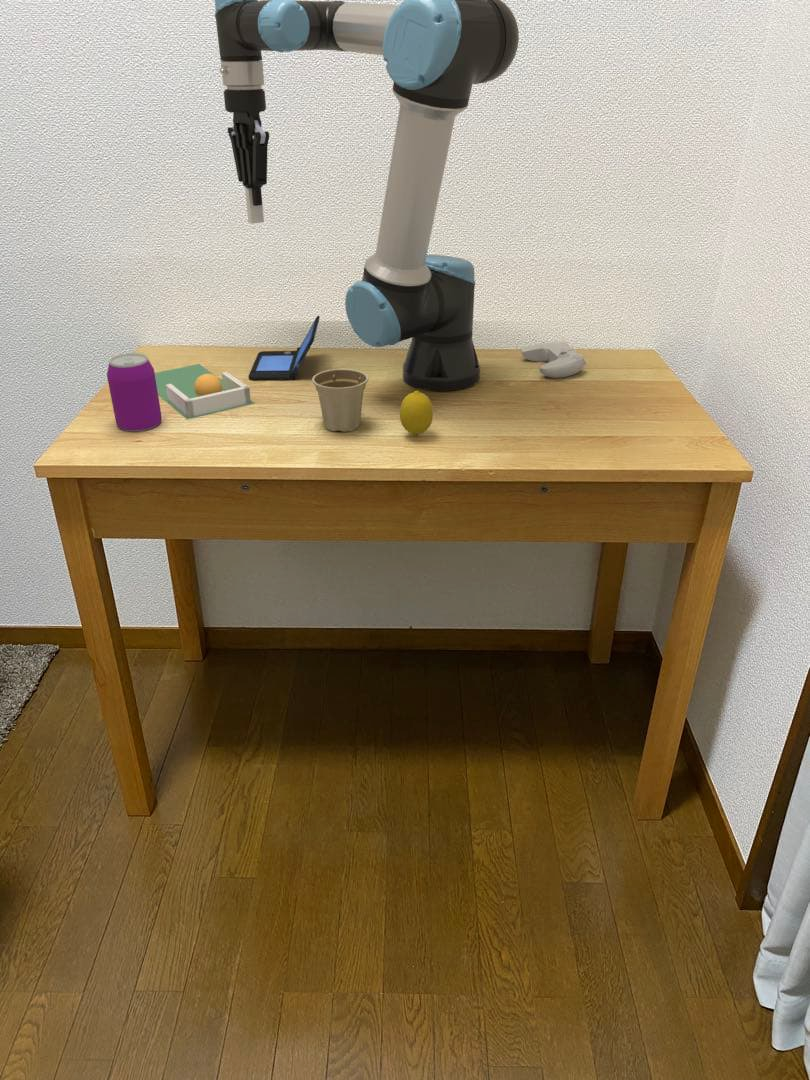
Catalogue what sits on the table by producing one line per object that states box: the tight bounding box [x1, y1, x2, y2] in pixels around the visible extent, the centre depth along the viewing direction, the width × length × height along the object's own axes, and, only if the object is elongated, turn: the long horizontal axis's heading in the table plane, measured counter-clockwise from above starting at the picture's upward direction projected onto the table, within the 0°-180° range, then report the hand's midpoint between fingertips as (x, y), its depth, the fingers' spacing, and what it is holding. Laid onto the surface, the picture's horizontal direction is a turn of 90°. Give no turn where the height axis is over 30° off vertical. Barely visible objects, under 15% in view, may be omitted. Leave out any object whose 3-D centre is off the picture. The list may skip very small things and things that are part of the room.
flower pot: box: [311, 368, 369, 433], centre depth 145 cm, size 9×9×9 cm
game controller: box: [521, 341, 587, 379], centre depth 172 cm, size 14×4×10 cm
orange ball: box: [194, 374, 222, 397], centre depth 155 cm, size 5×5×5 cm
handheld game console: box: [248, 315, 320, 382], centre depth 170 cm, size 16×13×9 cm
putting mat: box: [155, 363, 255, 420], centre depth 162 cm, size 26×13×1 cm, turn 34°
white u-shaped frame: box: [166, 371, 252, 418], centre depth 155 cm, size 10×12×3 cm
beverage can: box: [106, 352, 163, 432], centre depth 145 cm, size 8×8×12 cm
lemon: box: [399, 390, 434, 437], centre depth 142 cm, size 6×6×8 cm
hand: (256, 222), depth 169 cm, fingers closed
